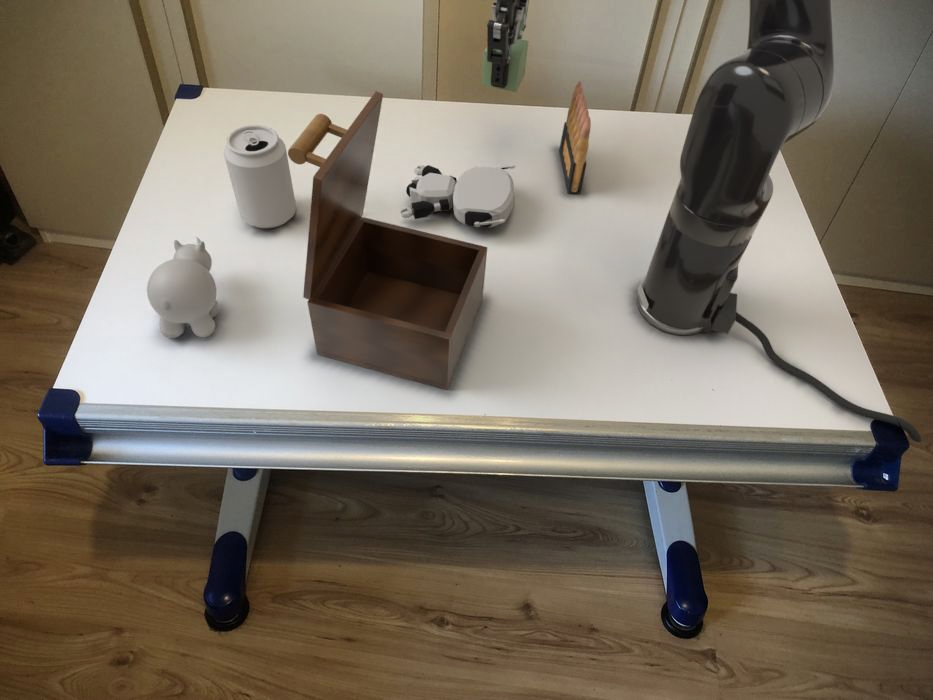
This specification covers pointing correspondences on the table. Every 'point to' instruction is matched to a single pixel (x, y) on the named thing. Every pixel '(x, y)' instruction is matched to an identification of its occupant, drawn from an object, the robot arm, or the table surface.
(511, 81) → the block
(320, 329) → the chest
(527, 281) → the table surface
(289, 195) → the can
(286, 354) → the table surface
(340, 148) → the lid
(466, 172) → the robot toy
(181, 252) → the chubby cartoon animal
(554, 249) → the table surface
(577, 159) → the ammunition clip
